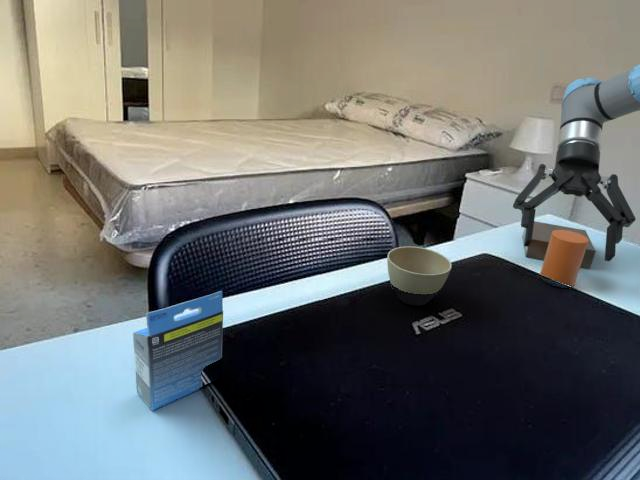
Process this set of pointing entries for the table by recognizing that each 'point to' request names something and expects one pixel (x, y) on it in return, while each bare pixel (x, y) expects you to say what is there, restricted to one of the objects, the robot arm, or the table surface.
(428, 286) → the beige bowl
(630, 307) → the table surface
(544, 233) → the grey shallow square box
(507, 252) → the table surface
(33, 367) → the table surface
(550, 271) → the orange drum
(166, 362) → the label tape box
